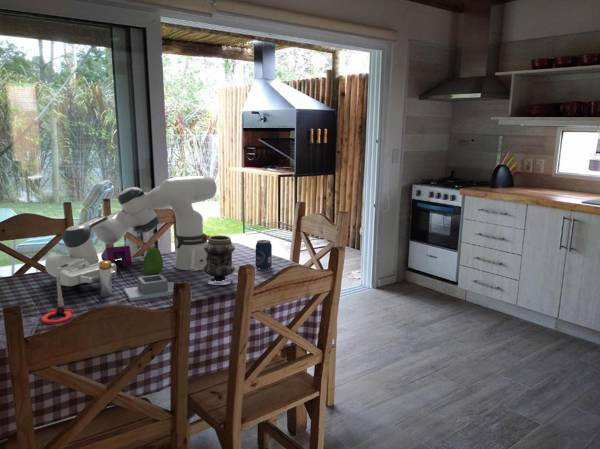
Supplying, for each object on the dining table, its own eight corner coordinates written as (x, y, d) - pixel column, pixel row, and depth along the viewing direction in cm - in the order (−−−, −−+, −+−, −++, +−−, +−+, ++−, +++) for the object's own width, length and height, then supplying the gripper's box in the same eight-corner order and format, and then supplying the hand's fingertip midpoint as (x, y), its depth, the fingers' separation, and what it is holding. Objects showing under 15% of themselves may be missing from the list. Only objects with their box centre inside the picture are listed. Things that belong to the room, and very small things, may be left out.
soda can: (252, 268, 210) (252, 241, 208) (262, 265, 216) (262, 238, 213) (264, 271, 206) (265, 244, 204) (274, 268, 212) (275, 241, 210)
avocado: (166, 276, 196) (165, 247, 193) (148, 280, 191) (147, 250, 188) (157, 272, 202) (157, 244, 199) (139, 275, 196) (138, 246, 194)
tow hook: (66, 325, 148) (76, 312, 156) (63, 285, 144) (72, 274, 153) (37, 326, 146) (48, 313, 155) (32, 285, 143) (44, 275, 152)
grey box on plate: (173, 284, 186) (172, 271, 185) (181, 293, 176) (181, 279, 175) (124, 291, 177) (123, 278, 176) (130, 301, 168) (129, 286, 167)
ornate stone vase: (239, 284, 188) (240, 239, 185) (210, 288, 182) (209, 242, 179) (227, 276, 199) (227, 233, 195) (199, 280, 192) (198, 235, 189)
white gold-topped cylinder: (111, 292, 176) (110, 260, 174) (113, 295, 173) (112, 262, 170) (99, 293, 174) (98, 261, 172) (101, 297, 171) (99, 264, 168)
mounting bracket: (102, 275, 215) (108, 267, 200) (99, 257, 216) (106, 247, 201) (124, 272, 220) (132, 264, 205) (121, 254, 221) (129, 245, 206)
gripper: (102, 272, 189) (127, 278, 182) (53, 286, 171) (79, 293, 164) (101, 256, 187) (126, 262, 181) (52, 268, 170) (78, 275, 163)
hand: (103, 277), depth 172 cm, fingers open, 8 cm apart
